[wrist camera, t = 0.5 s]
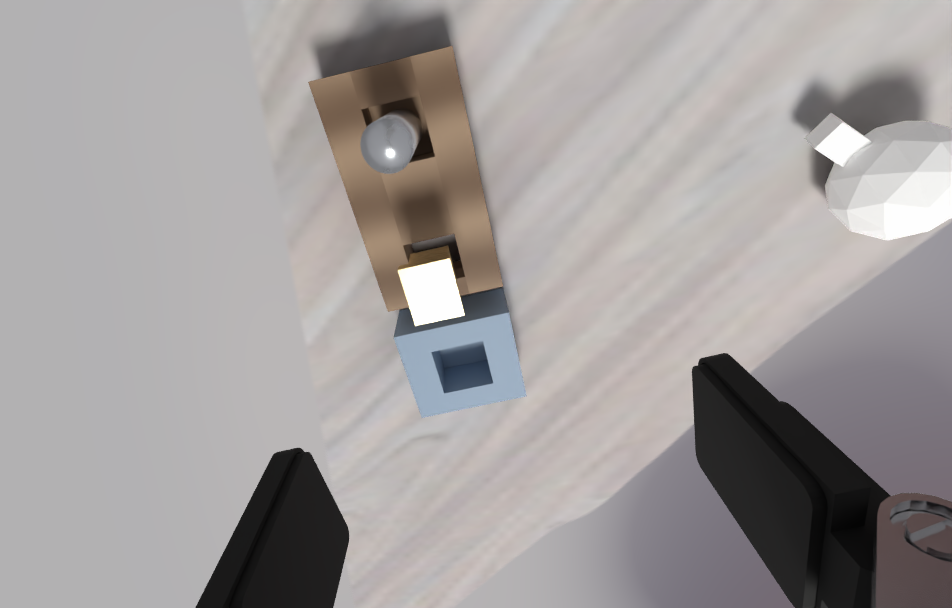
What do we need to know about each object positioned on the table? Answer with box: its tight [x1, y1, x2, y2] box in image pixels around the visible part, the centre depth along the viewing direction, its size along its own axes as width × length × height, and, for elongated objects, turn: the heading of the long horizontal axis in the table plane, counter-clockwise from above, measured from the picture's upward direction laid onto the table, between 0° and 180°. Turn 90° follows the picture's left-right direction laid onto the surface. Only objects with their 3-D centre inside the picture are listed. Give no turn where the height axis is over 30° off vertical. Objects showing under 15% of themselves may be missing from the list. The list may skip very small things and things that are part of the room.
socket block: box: [308, 46, 503, 312], centre depth 36 cm, size 18×10×4 cm, turn 12°
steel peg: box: [360, 108, 422, 174], centre depth 31 cm, size 3×3×10 cm
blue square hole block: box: [394, 288, 526, 418], centre depth 43 cm, size 9×10×5 cm
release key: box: [398, 246, 464, 326], centre depth 34 cm, size 4×4×5 cm
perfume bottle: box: [804, 113, 952, 240], centre depth 35 cm, size 9×9×12 cm
